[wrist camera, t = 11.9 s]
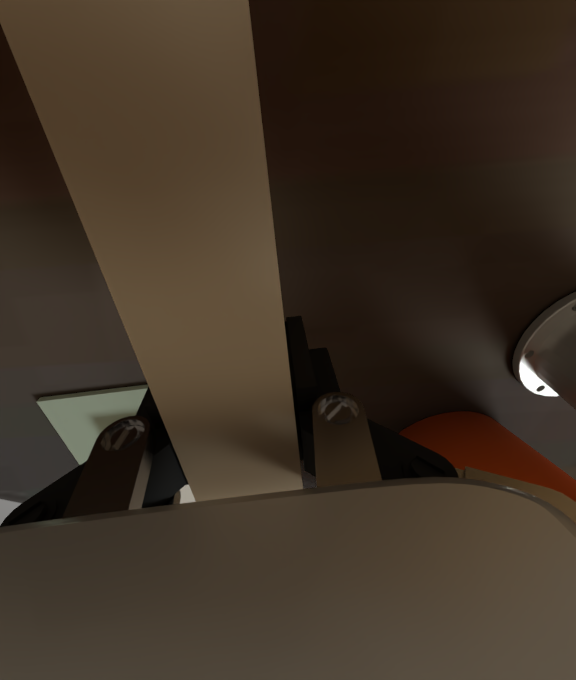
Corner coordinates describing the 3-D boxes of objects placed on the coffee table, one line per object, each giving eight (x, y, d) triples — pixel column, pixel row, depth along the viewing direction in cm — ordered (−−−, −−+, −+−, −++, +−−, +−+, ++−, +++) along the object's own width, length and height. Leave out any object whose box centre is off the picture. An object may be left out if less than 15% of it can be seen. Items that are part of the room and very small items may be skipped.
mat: (252, 371, 31) (252, 375, 30) (273, 484, 40) (273, 489, 40) (40, 397, 30) (36, 401, 30) (112, 505, 40) (110, 510, 39)
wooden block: (135, 58, 8) (-33, -55, 4) (252, 46, 8) (238, -84, 4) (247, 488, 18) (241, 613, 13) (301, 481, 18) (315, 604, 13)
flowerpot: (587, 410, 38) (846, 624, 21) (455, 523, 50) (556, 719, 33) (413, 353, 31) (593, 601, 15) (308, 500, 43) (341, 730, 26)
